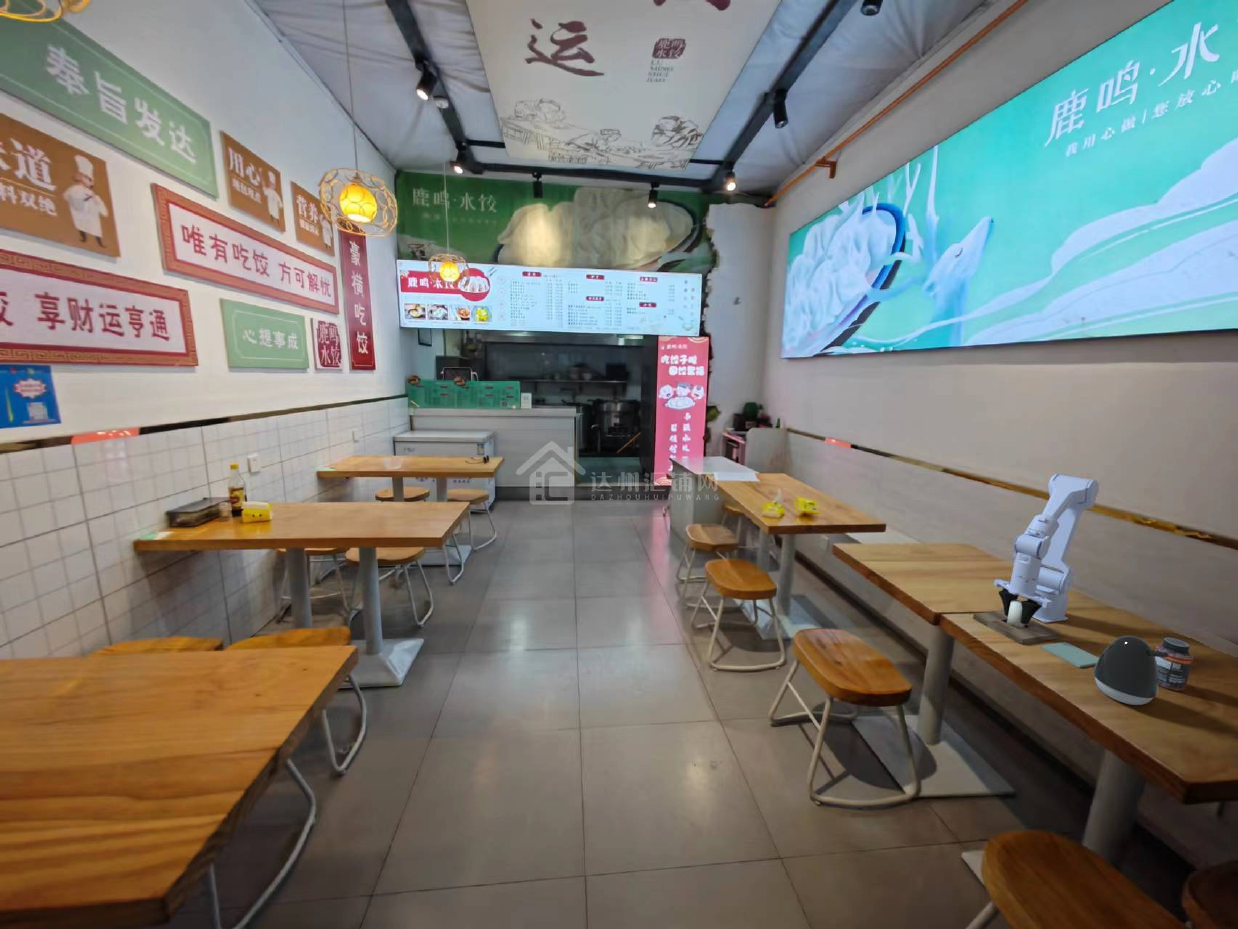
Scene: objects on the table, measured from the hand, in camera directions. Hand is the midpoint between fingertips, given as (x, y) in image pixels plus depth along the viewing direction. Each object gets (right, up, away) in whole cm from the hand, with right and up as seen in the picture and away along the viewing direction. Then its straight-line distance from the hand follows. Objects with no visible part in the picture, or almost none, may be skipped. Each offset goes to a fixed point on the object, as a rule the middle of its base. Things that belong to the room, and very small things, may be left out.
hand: (1016, 619), depth 138 cm
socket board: (0, -3, +1) cm, 3 cm away
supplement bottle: (+16, -8, -24) cm, 30 cm away
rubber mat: (+4, -6, -13) cm, 14 cm away
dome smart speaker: (0, -9, -29) cm, 30 cm away
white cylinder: (0, -3, +1) cm, 3 cm away
